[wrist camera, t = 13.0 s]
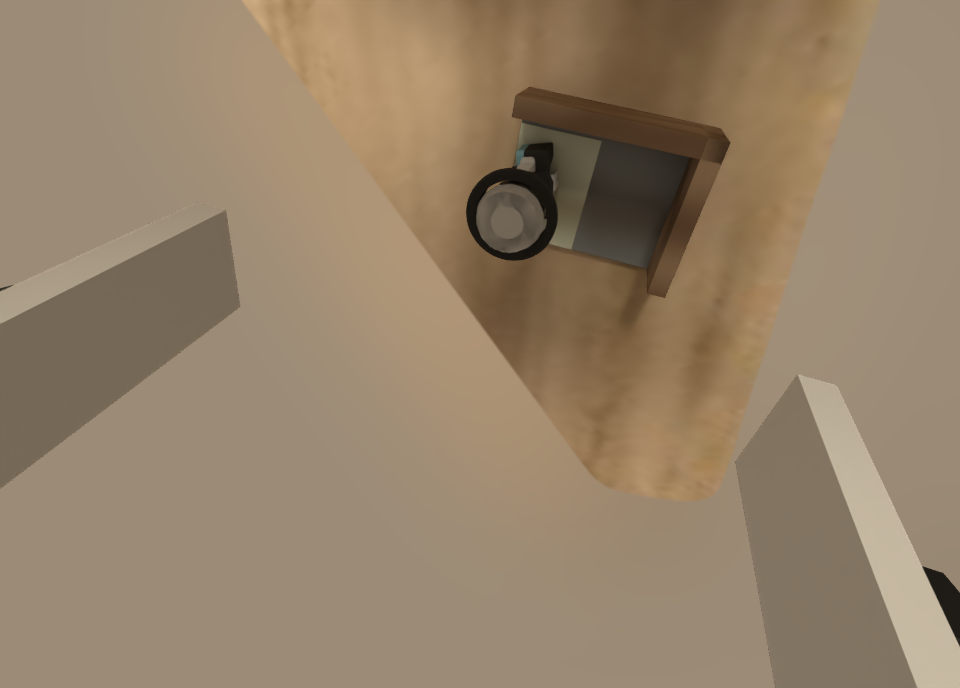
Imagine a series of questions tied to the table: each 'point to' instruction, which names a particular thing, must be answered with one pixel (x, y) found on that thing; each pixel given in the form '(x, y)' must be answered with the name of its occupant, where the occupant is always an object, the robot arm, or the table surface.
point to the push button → (516, 206)
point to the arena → (623, 178)
